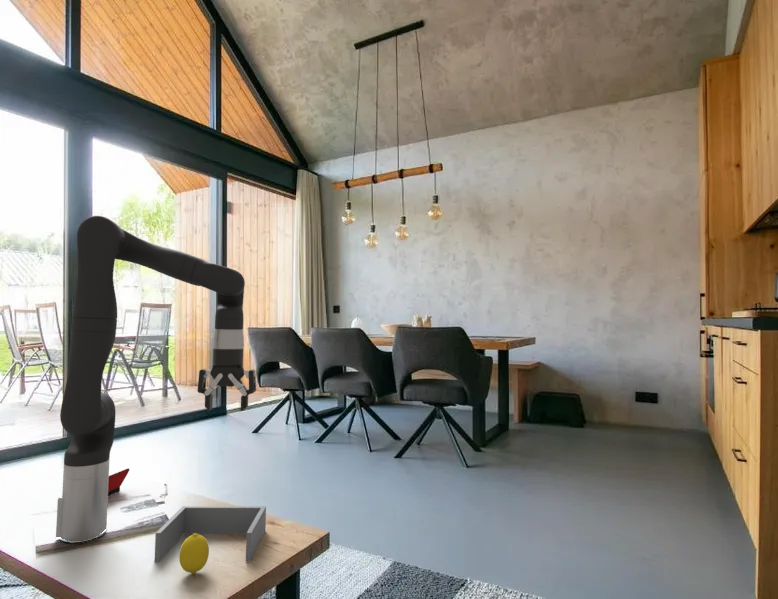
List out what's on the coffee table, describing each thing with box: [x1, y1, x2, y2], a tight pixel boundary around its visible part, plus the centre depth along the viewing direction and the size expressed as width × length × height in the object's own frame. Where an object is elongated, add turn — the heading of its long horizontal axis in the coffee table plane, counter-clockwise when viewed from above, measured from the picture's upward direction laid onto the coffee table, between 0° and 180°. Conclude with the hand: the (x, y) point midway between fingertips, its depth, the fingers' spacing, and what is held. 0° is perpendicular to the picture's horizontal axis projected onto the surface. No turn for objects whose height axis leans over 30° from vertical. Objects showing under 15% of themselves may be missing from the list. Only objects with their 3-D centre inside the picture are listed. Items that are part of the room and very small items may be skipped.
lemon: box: [179, 533, 210, 575], centre depth 98 cm, size 6×6×8 cm
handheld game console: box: [108, 468, 130, 497], centre depth 138 cm, size 12×11×7 cm
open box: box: [153, 505, 267, 563], centre depth 110 cm, size 20×15×6 cm
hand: (226, 410), depth 125 cm, fingers open, 8 cm apart
